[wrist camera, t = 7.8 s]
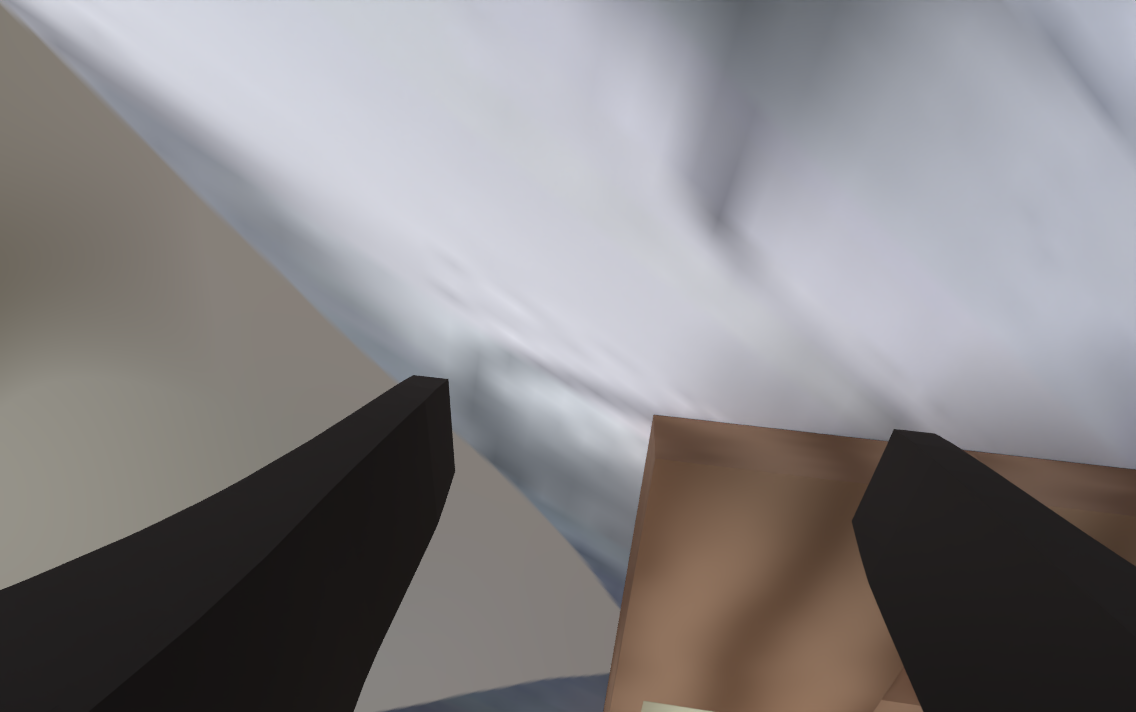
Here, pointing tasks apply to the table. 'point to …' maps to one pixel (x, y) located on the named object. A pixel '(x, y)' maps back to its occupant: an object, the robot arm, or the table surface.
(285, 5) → the table surface
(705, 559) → the trap deck
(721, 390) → the table surface
